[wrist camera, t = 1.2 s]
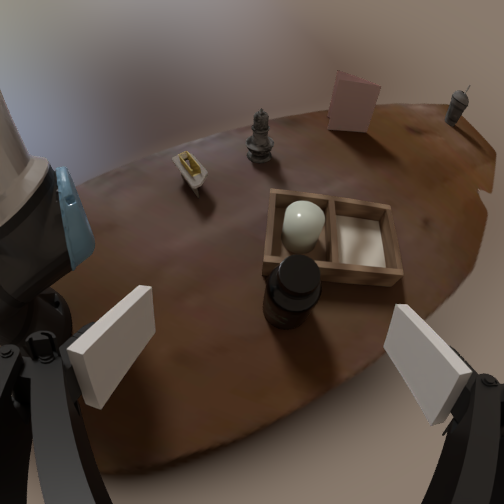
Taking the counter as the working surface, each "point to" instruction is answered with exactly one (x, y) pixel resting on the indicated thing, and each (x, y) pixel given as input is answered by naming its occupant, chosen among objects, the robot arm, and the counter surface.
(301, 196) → the caddy
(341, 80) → the greeting card
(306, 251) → the pale green dome
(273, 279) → the supplement bottle
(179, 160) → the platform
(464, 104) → the beverage cup
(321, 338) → the counter surface
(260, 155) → the salt shaker
